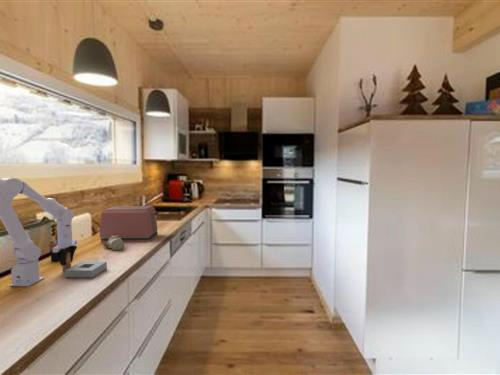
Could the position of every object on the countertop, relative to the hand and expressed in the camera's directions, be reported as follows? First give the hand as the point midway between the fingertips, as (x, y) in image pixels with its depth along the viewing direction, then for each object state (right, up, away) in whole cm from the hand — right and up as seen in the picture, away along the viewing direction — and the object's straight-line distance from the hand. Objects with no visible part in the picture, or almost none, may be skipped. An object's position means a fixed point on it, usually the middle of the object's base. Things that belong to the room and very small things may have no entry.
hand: (66, 263), depth 145 cm
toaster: (+7, +1, +60) cm, 61 cm away
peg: (0, -3, 0) cm, 3 cm away
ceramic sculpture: (+6, -1, +37) cm, 38 cm away
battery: (-14, -2, +17) cm, 22 cm away
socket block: (+12, -3, -5) cm, 13 cm away
